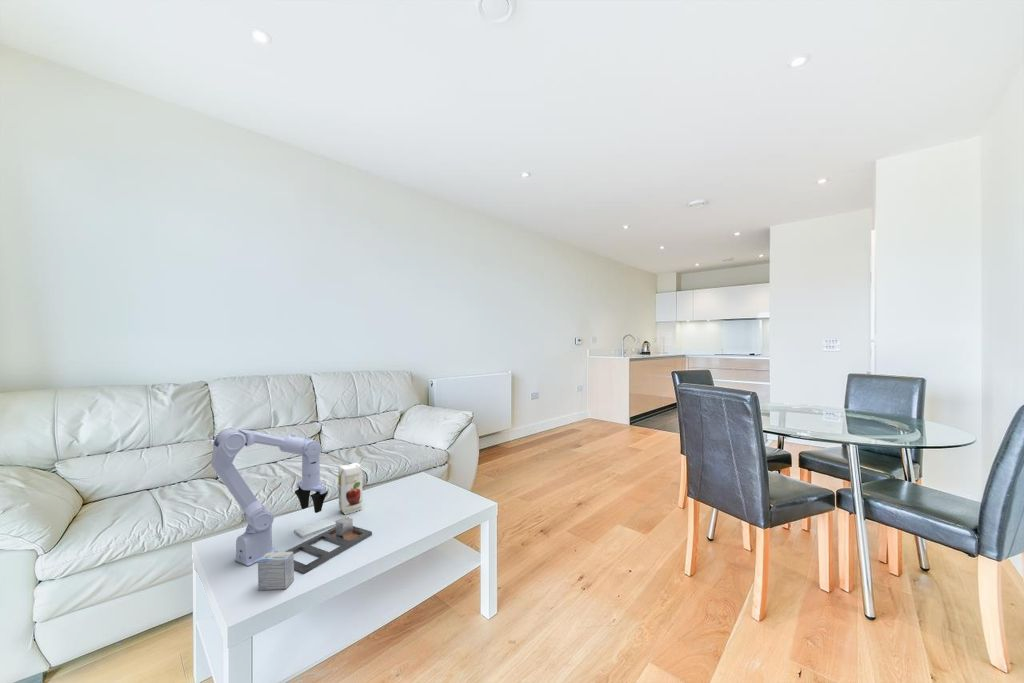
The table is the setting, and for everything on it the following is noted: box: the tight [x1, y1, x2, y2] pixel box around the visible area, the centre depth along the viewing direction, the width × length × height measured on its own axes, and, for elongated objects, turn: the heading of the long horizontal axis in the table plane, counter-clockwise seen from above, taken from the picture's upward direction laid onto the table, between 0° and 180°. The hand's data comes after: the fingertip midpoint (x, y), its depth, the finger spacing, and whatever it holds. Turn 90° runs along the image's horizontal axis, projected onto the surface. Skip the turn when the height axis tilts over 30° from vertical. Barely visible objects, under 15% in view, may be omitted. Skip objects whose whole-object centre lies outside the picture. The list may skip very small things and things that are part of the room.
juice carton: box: [337, 462, 364, 516], centre depth 158 cm, size 8×9×19 cm
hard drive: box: [293, 517, 336, 540], centre depth 142 cm, size 2×8×12 cm
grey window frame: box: [284, 525, 373, 575], centre depth 128 cm, size 26×16×1 cm, turn 152°
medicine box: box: [257, 551, 295, 591], centre depth 108 cm, size 8×4×9 cm, turn 92°
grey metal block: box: [335, 516, 354, 539], centre depth 135 cm, size 4×4×6 cm
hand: (311, 510), depth 137 cm, fingers open, 7 cm apart
